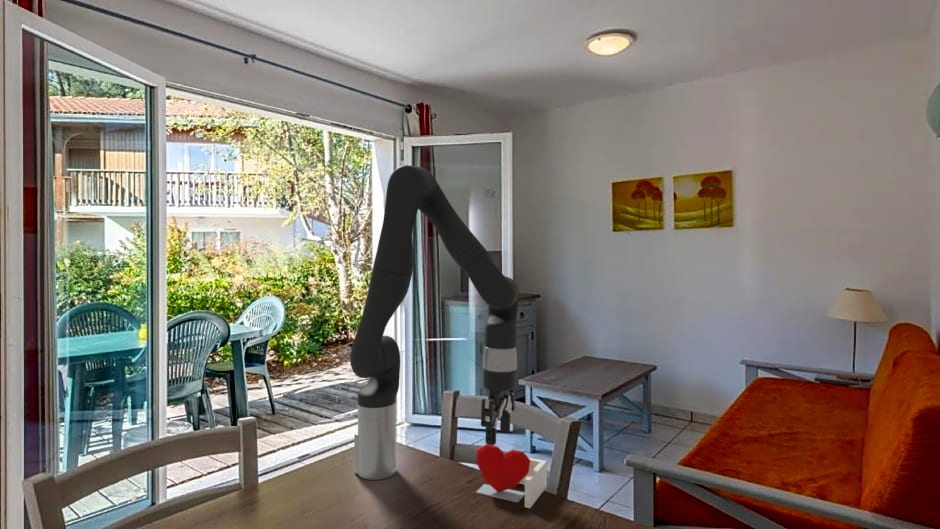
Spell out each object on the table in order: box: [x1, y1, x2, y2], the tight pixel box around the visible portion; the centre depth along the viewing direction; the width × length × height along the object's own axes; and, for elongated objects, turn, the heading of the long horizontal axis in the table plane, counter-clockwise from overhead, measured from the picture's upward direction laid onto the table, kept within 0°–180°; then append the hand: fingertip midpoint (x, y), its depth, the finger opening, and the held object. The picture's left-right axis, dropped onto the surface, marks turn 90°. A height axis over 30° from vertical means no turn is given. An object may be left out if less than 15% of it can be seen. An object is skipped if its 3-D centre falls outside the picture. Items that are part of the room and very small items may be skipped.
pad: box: [475, 483, 525, 503], centre depth 117 cm, size 10×4×1 cm, turn 64°
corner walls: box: [518, 457, 548, 509], centre depth 118 cm, size 12×11×6 cm
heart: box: [475, 444, 530, 492], centre depth 117 cm, size 12×4×10 cm, turn 78°
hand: (498, 437), depth 117 cm, fingers open, 8 cm apart
